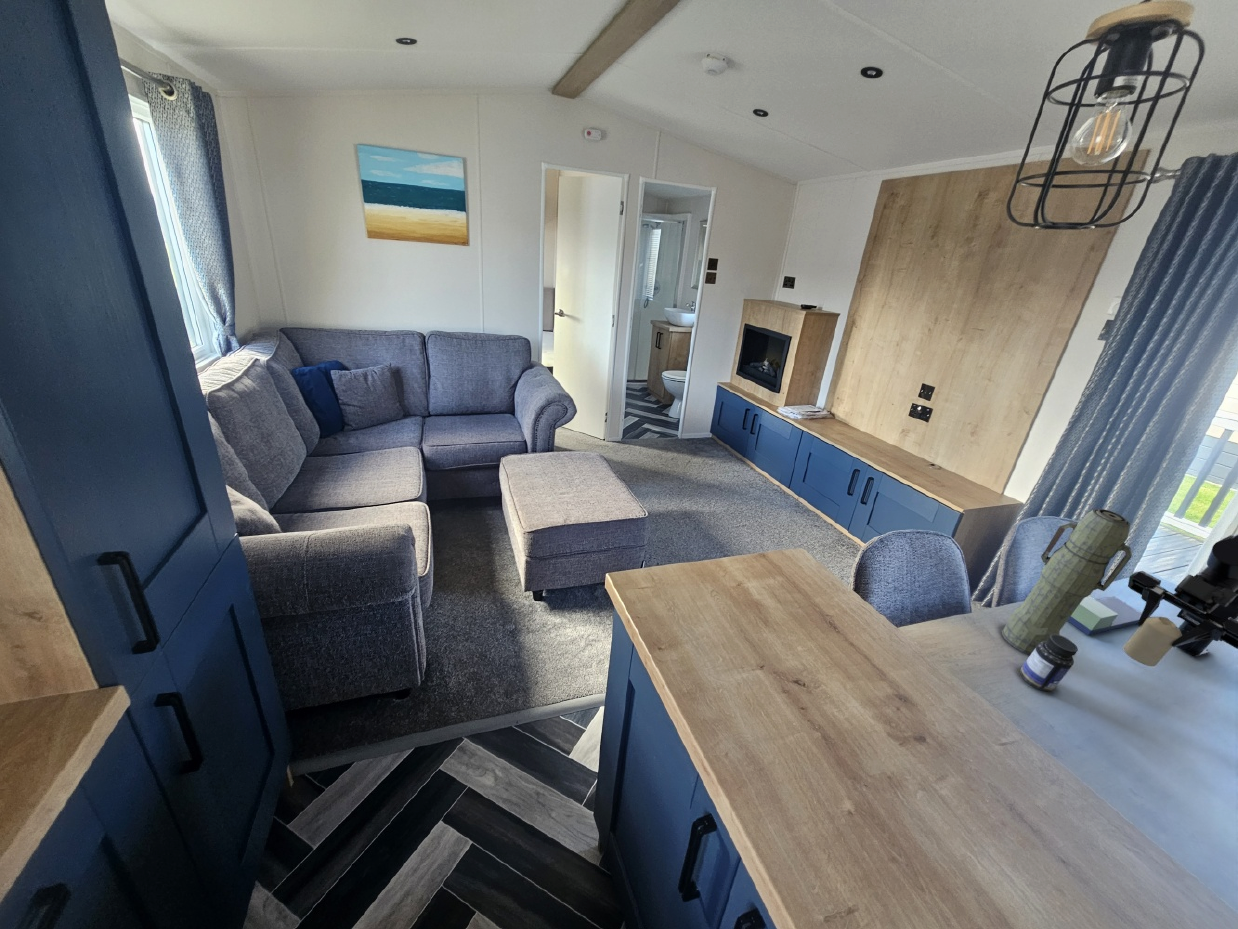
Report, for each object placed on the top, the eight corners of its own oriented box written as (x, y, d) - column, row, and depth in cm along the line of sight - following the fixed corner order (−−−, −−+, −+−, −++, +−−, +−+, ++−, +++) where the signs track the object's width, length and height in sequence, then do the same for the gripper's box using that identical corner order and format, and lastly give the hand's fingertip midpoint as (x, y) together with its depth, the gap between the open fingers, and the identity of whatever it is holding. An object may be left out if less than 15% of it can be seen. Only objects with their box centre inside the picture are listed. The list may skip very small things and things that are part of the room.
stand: (1110, 600, 139) (1123, 584, 136) (1145, 622, 132) (1158, 606, 130) (1054, 611, 131) (1066, 595, 128) (1087, 635, 124) (1101, 618, 122)
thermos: (998, 617, 125) (1078, 495, 109) (1055, 648, 118) (1150, 523, 102) (989, 634, 119) (1073, 507, 103) (1050, 667, 112) (1150, 537, 96)
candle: (1161, 670, 106) (1193, 635, 102) (1131, 661, 107) (1161, 626, 103) (1146, 651, 111) (1175, 616, 106) (1117, 642, 112) (1145, 608, 107)
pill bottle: (1046, 675, 110) (1075, 638, 105) (1058, 697, 104) (1088, 659, 99) (1014, 664, 111) (1041, 627, 106) (1024, 685, 106) (1052, 647, 101)
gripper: (1161, 538, 107) (1104, 588, 108) (1289, 599, 93) (1222, 657, 93) (1156, 562, 114) (1102, 609, 115) (1273, 622, 100) (1211, 676, 100)
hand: (1154, 635), depth 106 cm, fingers closed on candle, 5 cm apart
